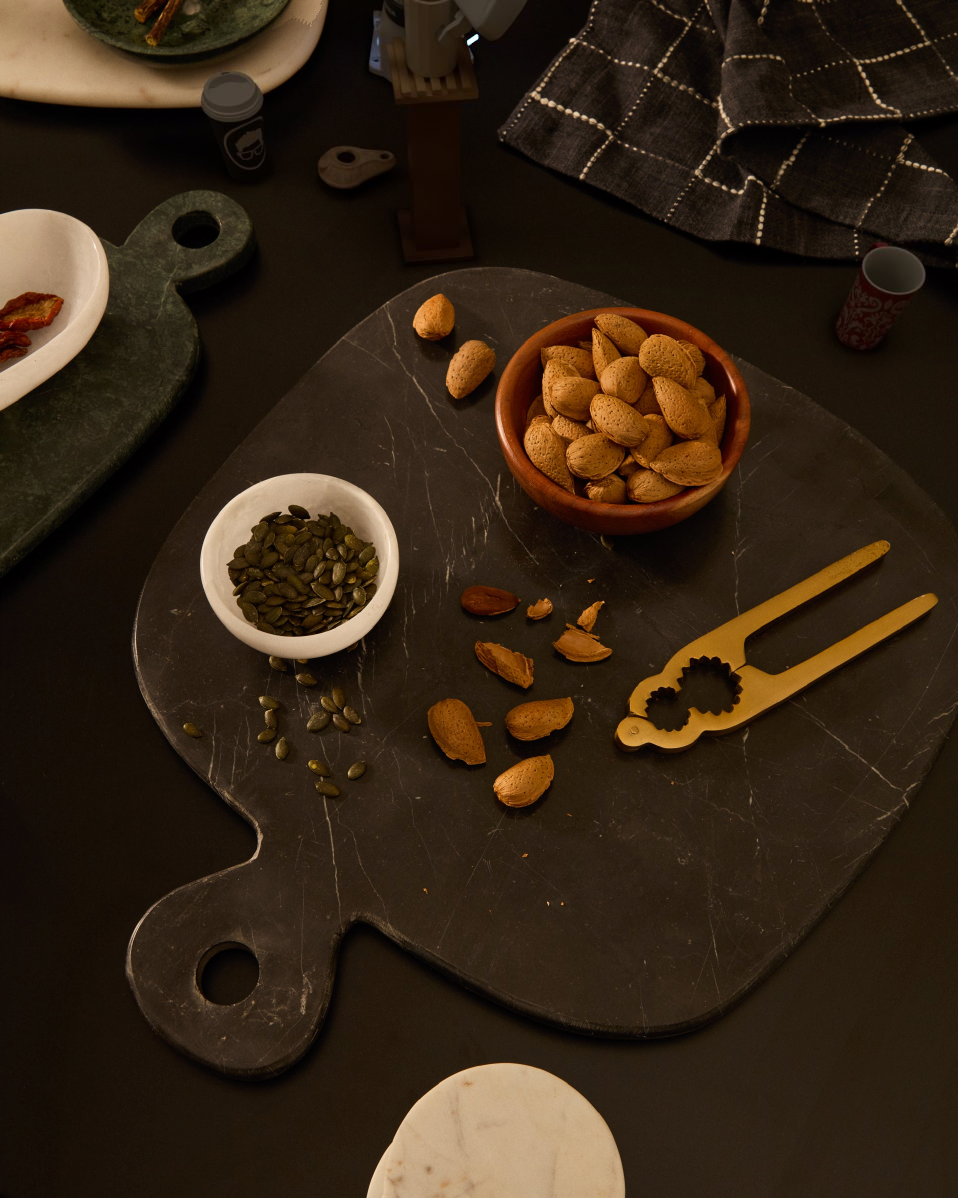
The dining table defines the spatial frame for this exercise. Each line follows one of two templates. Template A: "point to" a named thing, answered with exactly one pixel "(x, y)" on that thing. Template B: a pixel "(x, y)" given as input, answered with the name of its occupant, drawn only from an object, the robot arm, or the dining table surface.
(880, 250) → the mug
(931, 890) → the dining table surface
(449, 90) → the wooden slatted trivet
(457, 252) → the stand
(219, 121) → the coffee cup
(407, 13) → the enamel cup
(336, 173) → the pottery oil lamp
